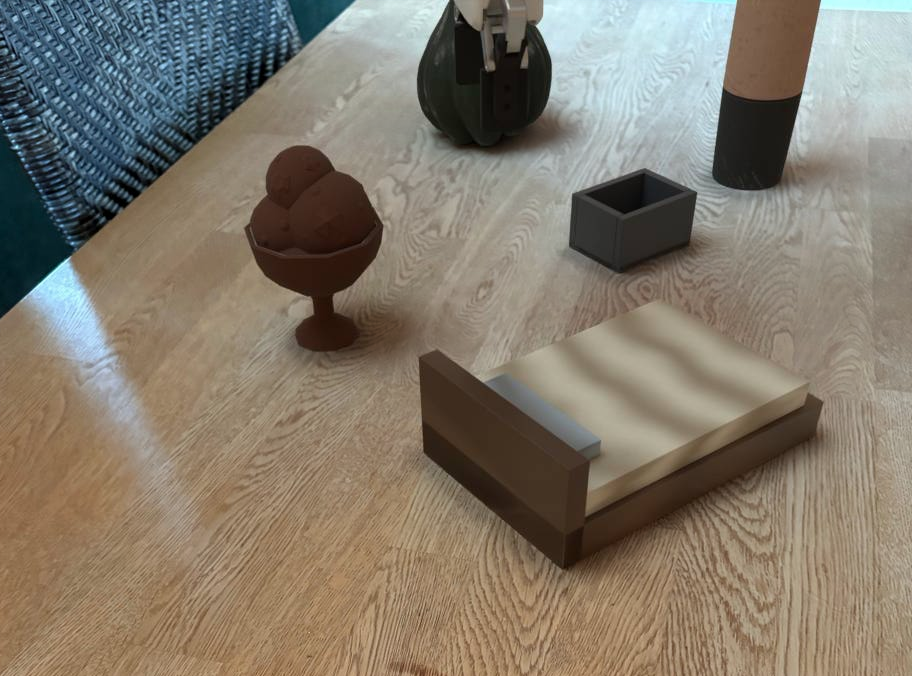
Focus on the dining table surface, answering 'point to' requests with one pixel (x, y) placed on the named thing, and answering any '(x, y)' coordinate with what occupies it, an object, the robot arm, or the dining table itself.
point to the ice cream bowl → (314, 239)
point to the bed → (561, 470)
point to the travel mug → (762, 90)
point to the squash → (473, 85)
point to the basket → (631, 219)
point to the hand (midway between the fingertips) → (489, 104)
